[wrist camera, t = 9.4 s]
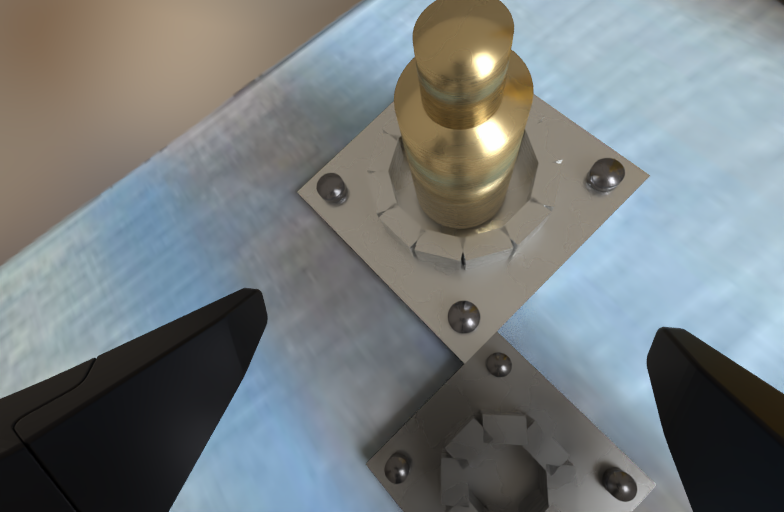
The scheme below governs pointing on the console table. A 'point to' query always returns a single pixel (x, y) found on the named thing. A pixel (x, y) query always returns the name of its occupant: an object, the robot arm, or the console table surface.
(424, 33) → the gold metal cylinder
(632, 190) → the flange large
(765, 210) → the console table surface
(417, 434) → the flange small
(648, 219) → the console table surface
